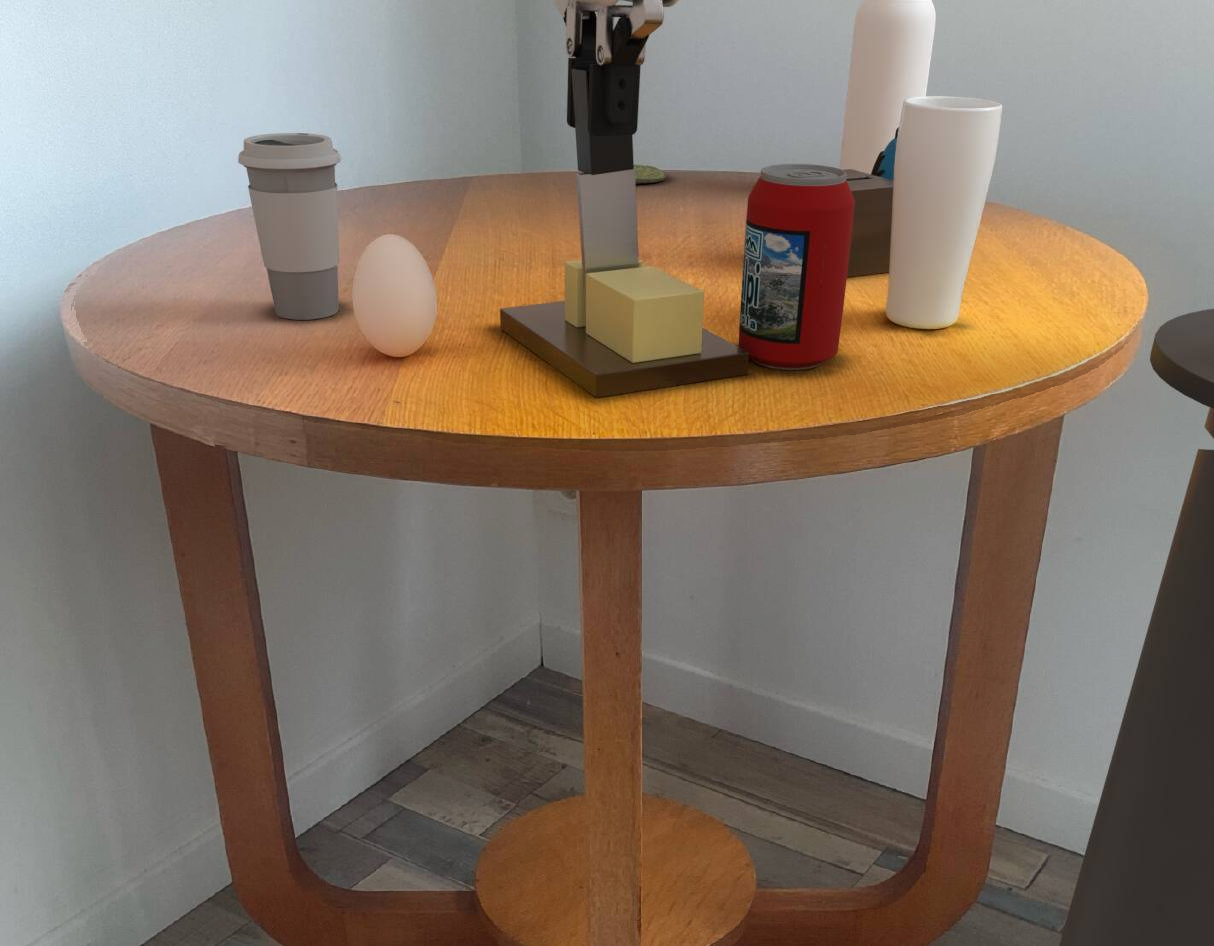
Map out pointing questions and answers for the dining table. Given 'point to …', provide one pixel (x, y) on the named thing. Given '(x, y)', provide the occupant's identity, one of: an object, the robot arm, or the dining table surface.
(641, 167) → the medallion
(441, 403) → the dining table surface
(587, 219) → the knife
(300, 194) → the cup
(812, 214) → the beverage can
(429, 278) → the egg
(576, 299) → the butter slice
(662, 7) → the robot arm
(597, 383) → the board
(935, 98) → the drinking glass
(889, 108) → the bottle
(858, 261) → the knife block
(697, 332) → the butter block
